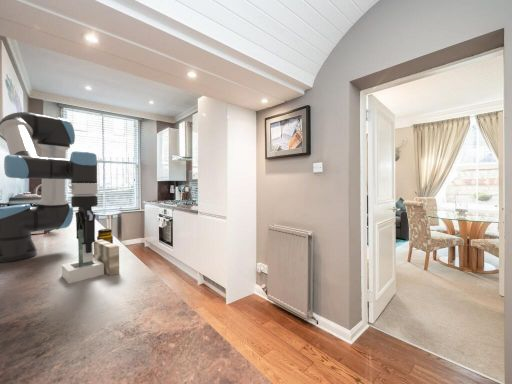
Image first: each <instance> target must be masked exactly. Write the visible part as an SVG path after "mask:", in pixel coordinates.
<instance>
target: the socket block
mask: <svg viewBox="0 0 512 384" xmlns="http://www.w3.org/2000/svg"><path fill="white" fill-rule="evenodd" d="M104 275H105V272H104V263H102V262H100V261H99V260H97V259H96V258H93V264H92V265H88V266H83V267H79V260H78V261H73V262H69V263H63V264H61V277H62V278H63V279H64V280H65V281H66V282H67V283H68V284H73V283H77V282H80V281H85V280H89V279H92V278H96V277H99V276H104Z"/></svg>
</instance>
